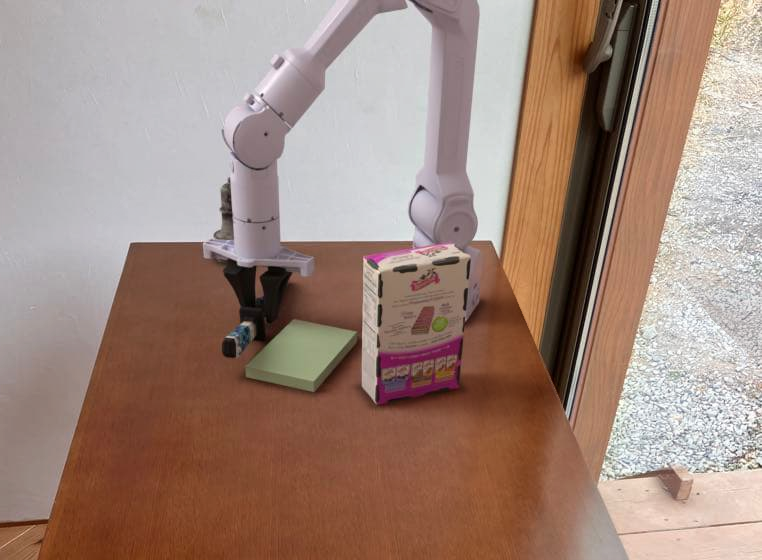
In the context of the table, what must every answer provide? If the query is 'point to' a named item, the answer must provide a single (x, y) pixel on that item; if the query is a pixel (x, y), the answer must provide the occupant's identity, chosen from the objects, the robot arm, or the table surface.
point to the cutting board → (302, 355)
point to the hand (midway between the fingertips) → (261, 318)
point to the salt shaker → (225, 216)
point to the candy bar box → (413, 321)
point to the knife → (246, 330)
